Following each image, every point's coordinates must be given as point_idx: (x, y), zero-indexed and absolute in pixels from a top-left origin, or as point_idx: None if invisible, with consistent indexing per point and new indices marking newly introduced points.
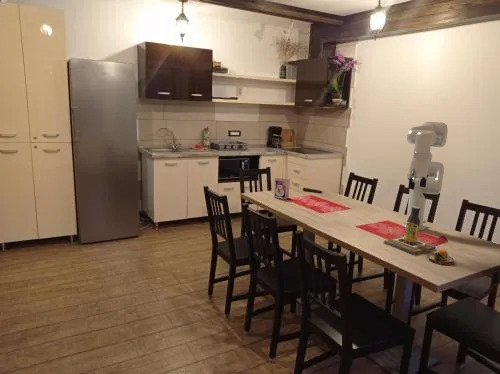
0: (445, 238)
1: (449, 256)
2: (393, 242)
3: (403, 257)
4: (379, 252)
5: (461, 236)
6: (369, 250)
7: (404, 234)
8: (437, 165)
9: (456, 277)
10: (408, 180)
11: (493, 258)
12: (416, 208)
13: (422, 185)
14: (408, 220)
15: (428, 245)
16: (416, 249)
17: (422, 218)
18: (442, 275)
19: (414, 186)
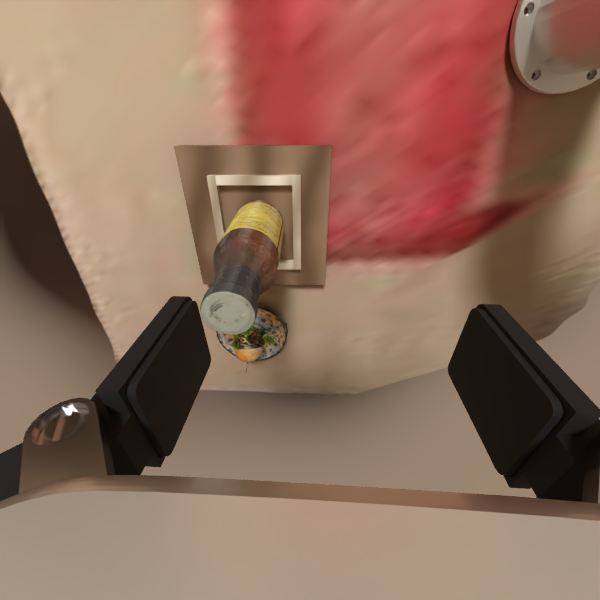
0: (489, 230)
1: (284, 342)
2: (201, 184)
3: (158, 276)
4: (97, 212)
5: (574, 245)
6: (65, 179)
7: (237, 213)
8: None
9: (202, 388)
10: (40, 416)
11: (402, 377)
12: (210, 327)
13: (466, 359)
14: (214, 255)
15: (311, 268)
16: None
17: None
18: None
19: (191, 397)
